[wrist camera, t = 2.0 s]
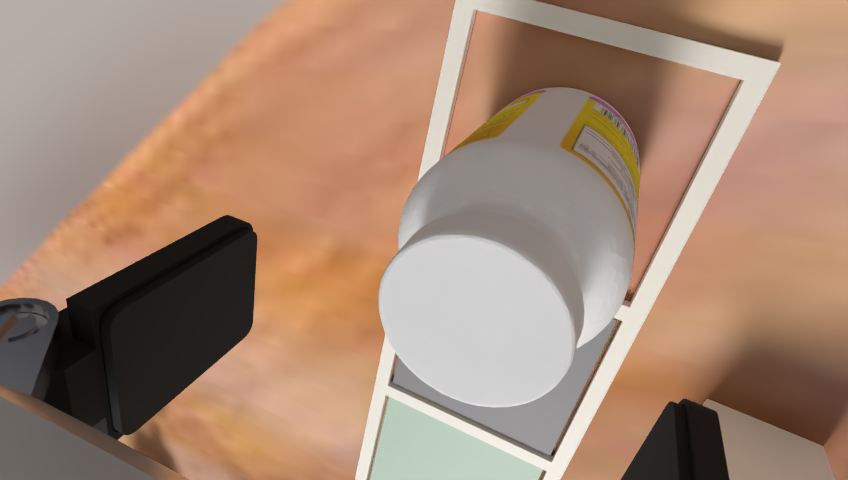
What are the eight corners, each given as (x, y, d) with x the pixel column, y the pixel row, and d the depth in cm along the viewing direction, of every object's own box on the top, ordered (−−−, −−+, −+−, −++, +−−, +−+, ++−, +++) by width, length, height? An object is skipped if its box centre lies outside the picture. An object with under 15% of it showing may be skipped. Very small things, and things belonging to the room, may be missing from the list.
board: (778, 61, 18) (781, 63, 18) (508, 573, 35) (506, 580, 34) (463, -18, 21) (459, -18, 20) (354, 491, 38) (351, 496, 37)
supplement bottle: (471, 211, 25) (331, 380, 14) (499, 69, 22) (344, 150, 11) (614, 252, 23) (575, 482, 12) (666, 104, 20) (675, 241, 9)
